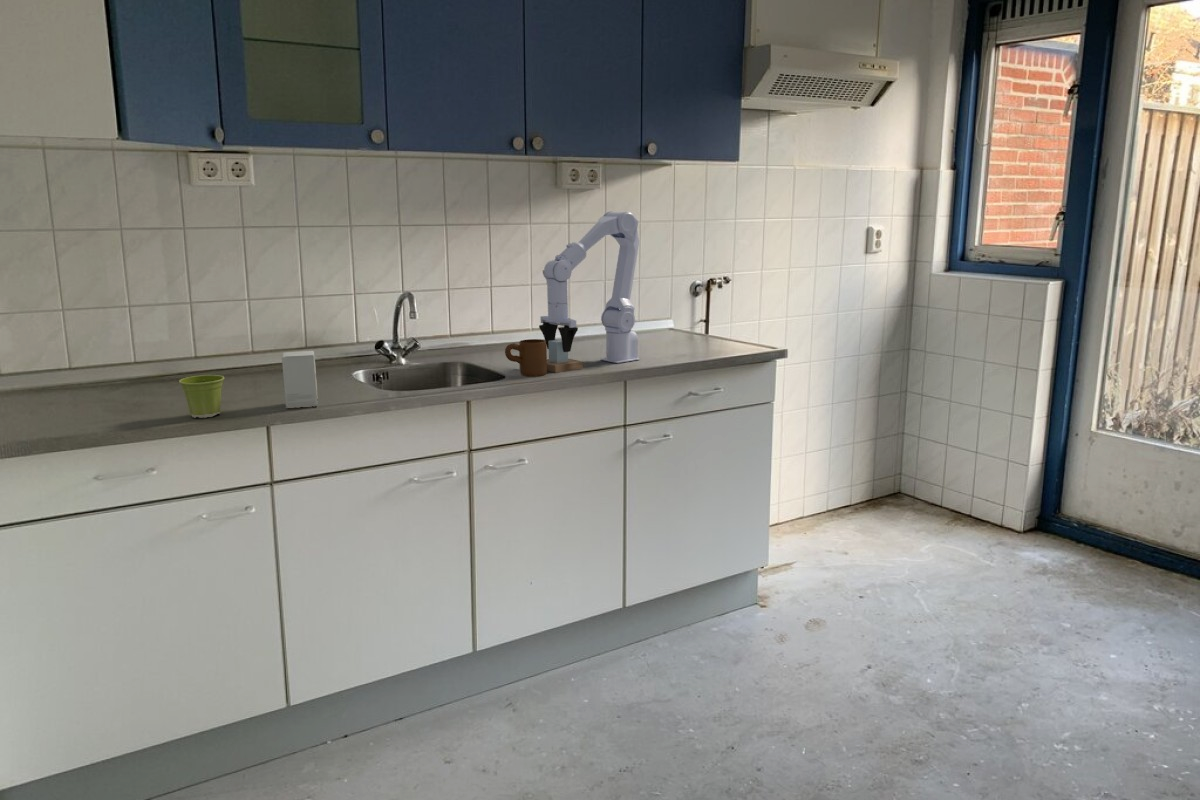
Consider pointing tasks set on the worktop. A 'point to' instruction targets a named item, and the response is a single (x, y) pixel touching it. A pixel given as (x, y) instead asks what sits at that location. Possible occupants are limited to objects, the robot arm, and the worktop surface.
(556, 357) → the block
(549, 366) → the base
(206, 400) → the plant pot
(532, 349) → the mug
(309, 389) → the supplement box
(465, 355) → the worktop surface
